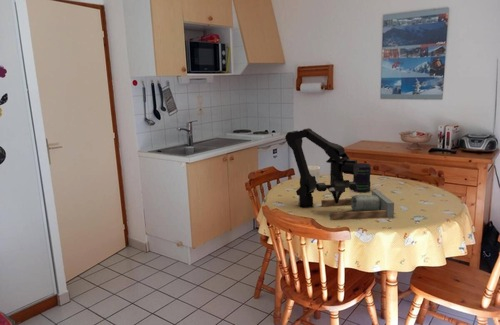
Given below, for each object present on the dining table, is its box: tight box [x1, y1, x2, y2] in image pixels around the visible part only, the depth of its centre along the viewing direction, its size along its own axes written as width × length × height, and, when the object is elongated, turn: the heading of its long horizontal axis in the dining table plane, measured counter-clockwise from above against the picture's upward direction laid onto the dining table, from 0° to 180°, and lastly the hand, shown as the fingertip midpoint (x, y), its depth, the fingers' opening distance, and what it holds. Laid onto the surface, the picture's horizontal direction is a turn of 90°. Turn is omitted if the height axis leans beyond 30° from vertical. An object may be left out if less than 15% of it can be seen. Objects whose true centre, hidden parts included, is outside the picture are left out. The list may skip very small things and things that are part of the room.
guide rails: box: [321, 198, 387, 221], centre depth 187 cm, size 26×21×3 cm
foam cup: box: [307, 165, 321, 191], centre depth 227 cm, size 10×9×13 cm
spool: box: [350, 193, 380, 212], centre depth 186 cm, size 14×10×10 cm
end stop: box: [371, 189, 395, 219], centre depth 187 cm, size 3×22×7 cm, turn 1°
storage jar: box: [352, 162, 372, 194], centre depth 219 cm, size 10×10×15 cm
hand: (336, 203), depth 186 cm, fingers closed
